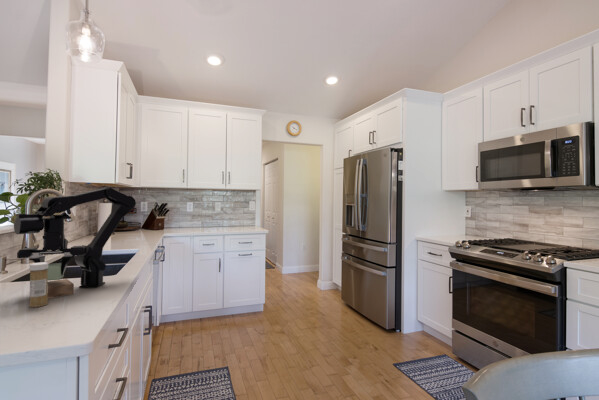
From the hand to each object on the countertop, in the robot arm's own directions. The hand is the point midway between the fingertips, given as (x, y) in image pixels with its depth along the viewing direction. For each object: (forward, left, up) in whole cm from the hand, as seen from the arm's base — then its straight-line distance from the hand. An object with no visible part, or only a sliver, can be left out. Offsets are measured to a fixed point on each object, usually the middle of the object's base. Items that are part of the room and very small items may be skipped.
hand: (53, 275), depth 110 cm
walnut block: (0, 0, -7) cm, 7 cm away
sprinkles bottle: (-4, +12, -7) cm, 15 cm away
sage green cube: (0, 0, -1) cm, 1 cm away
